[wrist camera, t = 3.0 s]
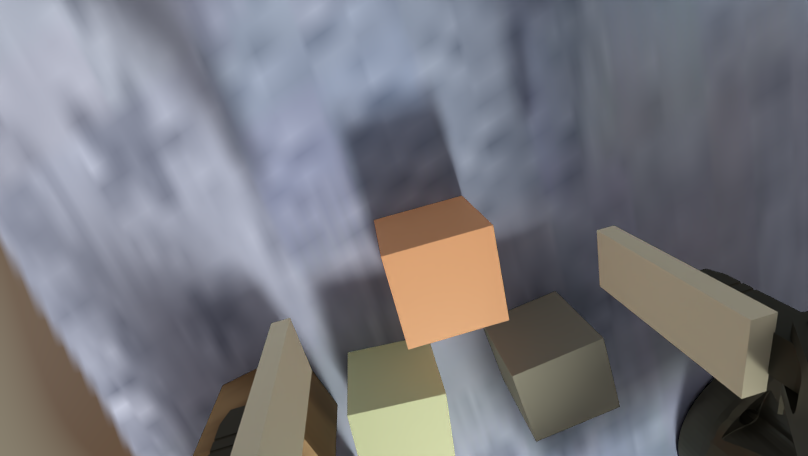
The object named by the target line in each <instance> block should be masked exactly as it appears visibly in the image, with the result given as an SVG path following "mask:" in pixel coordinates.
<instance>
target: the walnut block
mask: <svg viewBox="0 0 808 456" xmlns="http://www.w3.org/2000/svg"><path fill="white" fill-rule="evenodd" d="M256 371H257V369H255V370H253V371H251V372H249V373H247V374H245V375H243V376H241V377H239V378H237V379H235V380H233V381H231V382H229V383H227V384H225V385H223V386H222V388H221V391H220V393H219V395H218V398H217V400H216V403H215V405H214V407H213V410H212V412H211V414H210V417H209V419H208V421H207V424H206V426H205V428H204V431H203V433H202V435H201V438H200V440H199V443H198V445H197V447H196V450H195V452H194V454H193V456H208V455H209V454H210V449H211V446H212V444H213V442H214V438H215V436H216V433H217V430H218V427H219V425H220V423H221V422H222V421H223V419H224V418H225V416H226V415H227V414H228V412H229V411H230V410H231V409H235V408H238V407H241V406H245V405H246V403H247V400H248V397H249V394H250V390H251V387H252V384H253V381H254V378H255V374H256ZM336 431H337V403H336V402H335V401H334V399H333V398H332V397H331V395H330V394H329V393H328V391H327V390H326V389H325V387H324V386H323V385H322V383H321V382H320V380H319V379H318V378H317V376H316V375H315V374H314V372H313V371H312V374H311V383H310V391H309V400H308V408H307V417H306V425H305V434H304V442H303V451H302V456H336Z"/></svg>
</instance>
